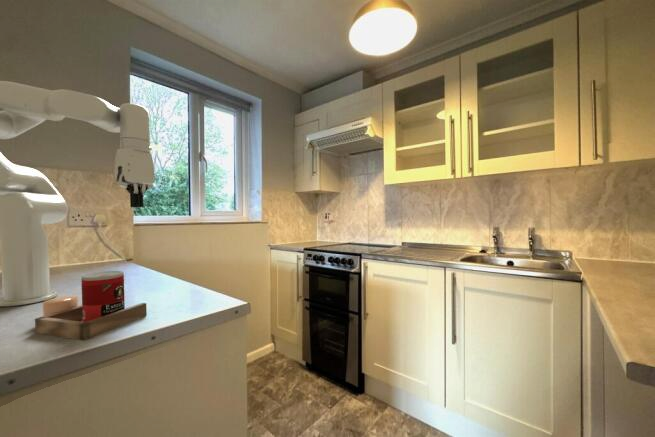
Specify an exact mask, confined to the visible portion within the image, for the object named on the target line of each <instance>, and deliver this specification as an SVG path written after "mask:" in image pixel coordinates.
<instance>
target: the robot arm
mask: <svg viewBox="0 0 655 437" xmlns="http://www.w3.org/2000/svg"><path fill="white" fill-rule="evenodd" d="M0 109H2V110H0V140H9V139H13V138H16V137H18V136H20V135H22V134H23V133H25V132H28V131H29V130H31V129H34V128H35V127H37V126H39V125H40V124H43V123H44V122H45V121H47V120H49V121H55V122H60V121H62V120H64V119H65V118H69V119H74V120H80V121H83V122H87V123H89V124H91V125H93V126H96V127H98V128H100V129H103V130H105V131H107V132H110V133H115V134H116V133H119V142H120V143H119V148H117V150H116V154H115V158H114V173H113V174H114V181H115V182H116V183H117V186H118V187H121V188H125V190H126V192H127V194H129V199H130V201H129V203H130V208H143V207H144V195H145V194H146V192H147V191H148V190H152V189H153V188H154V186H153V184H154V183H155V165H154V160H153V155H152V153H151V151H152V149H153V148H152V147H151V141H150V140H151V139H150V137H151V136H150V134H151V133H150V113H149V110H148V109H147V107H145V106H144V105H140V104H137V103H130V102H129V103H122V104H121V105H120V106H119V107H117V106H114V105H112V104H111V103H109V102H108V101H106V100H104V99H102V98H100V97H98V96H97V95H92V94H88V93H85V92H80V91H76V90H71V89H63V88H62V89H61V88H60V89H54V90H52V89H47V88H41V87H37V86H33V85H27V84H23V83H19V82H15V81H10V80H9V81H8V80H0ZM68 214H69V206H68V204H67V201H66V200H65V199H64V197H63V196H62V195H61V193H60V192H59V191H58V190H57V188H56V187H55V186H54V185H53V184H52V182H50V180H49V179H48V178H47V177H46V176H45V175H44V174H43V173H42V172H40V170H38V169H35V168H33V167H29V166H25V165H20V164H16V163H13V162H12V161H10V160H8V158H6V156H5V155H3V153H2V152H1V151H0V255H1V256H0V258H1V283H2V288H0V292H1V293H2V297H0V307H16V306H23V305H29V304H34V303H40V302H44V301H46V300H49V299H53V298H56V297H57V296H58V292H57V291H56V290H51V287H50V286H51V284H50V255H49V254H50V253H49V252H50V251H49V238H48V234H47V231H46V230H45V228H44V226H43V225H50V224H51V225H52V224H57V223H61V222H62V221H64V220H65V219H66V218H67V216H68Z"/></svg>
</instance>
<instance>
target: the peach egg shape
mask: <svg viewBox="0 0 655 437" xmlns="http://www.w3.org/2000/svg"><path fill="white" fill-rule="evenodd" d="M78 306H79V297H78V295H65V296H59V297H53V298H51V299H48V300H44V301H42V314H43V316H46V315H50V314H53V313H57V312H60V311H64V310H67V309H71V308H74V307H78ZM43 316H42V317H43Z"/></svg>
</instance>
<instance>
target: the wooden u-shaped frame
mask: <svg viewBox="0 0 655 437" xmlns="http://www.w3.org/2000/svg"><path fill="white" fill-rule="evenodd" d="M147 315H148V314H147V303H146V302H141V303H138V304H135V305H132V306H128V307H126V308H125V309H123V310H120V311H117V312H114V313H111V314H108V315H105V316H102V317H99V318H96V319H94V320H91V321H88V322H83V314H82V304H81V305H78V307H74V308H71V309H67V310H64V311H60V312H57V313H53V314H50V315H46V316H40V317H36V318H34V323H35V324H34V326H35V330H34V331H35V334H41V335H45V336H46V335H48V336H54V337H61V338H68V339H74V340H79V341H80V340H81V341H85V340H88V339H90V338H93V337H96V336H98V335H101V334H103V333H105V332H108V331H110V330H113V329H115V328H116V329H117V328H119V327H121V326H123V325H125V324H128V323H131V322H133V321H136V320H139V319H141V318H144V317H146V316H147ZM81 320H82V321H81Z"/></svg>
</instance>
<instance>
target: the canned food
mask: <svg viewBox="0 0 655 437" xmlns="http://www.w3.org/2000/svg"><path fill="white" fill-rule="evenodd" d="M124 275H125V274H124V271H121V270H104V271H103V270H102V271H96V272H90V273H87V274H84V275H82V276H81V305H82V314H83V319H82V322H88V321H91V320H94V319H96V318H99V317H102V316H105V315H108V314H111V313H114V312H117V311H120V310H123V309H126V308H125V304H126V302H125V278H124V277H125V276H124Z"/></svg>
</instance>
